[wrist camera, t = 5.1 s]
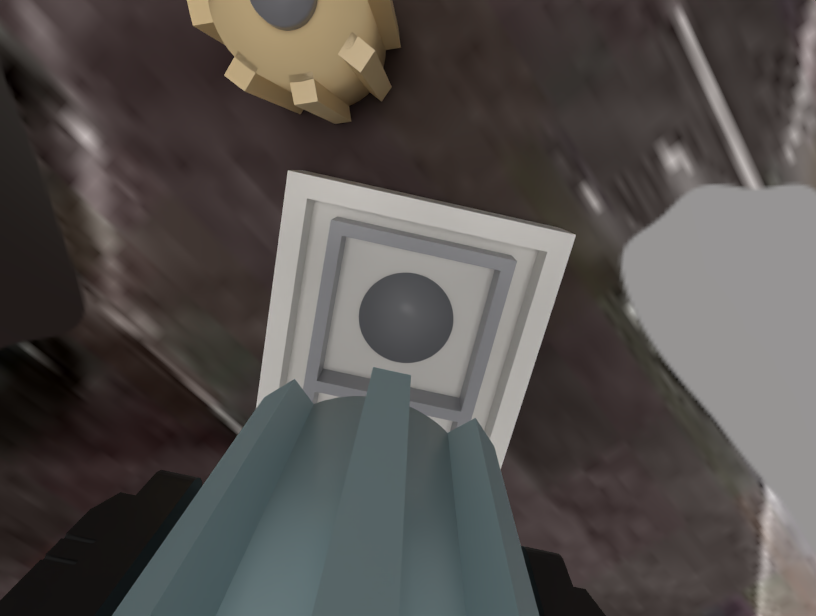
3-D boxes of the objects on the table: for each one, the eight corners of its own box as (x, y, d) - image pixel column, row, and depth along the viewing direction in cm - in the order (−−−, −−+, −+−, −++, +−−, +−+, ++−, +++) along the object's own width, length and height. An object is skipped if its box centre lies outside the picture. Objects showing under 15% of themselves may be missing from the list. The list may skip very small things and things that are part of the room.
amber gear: (389, -44, 20) (366, -164, 13) (409, 112, 22) (399, 85, 15) (248, -19, 21) (149, -120, 13) (278, 132, 22) (206, 115, 15)
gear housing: (302, 170, 23) (287, 170, 20) (560, 227, 23) (576, 235, 21) (255, 502, 29) (239, 533, 26) (461, 546, 29) (464, 580, 26)
